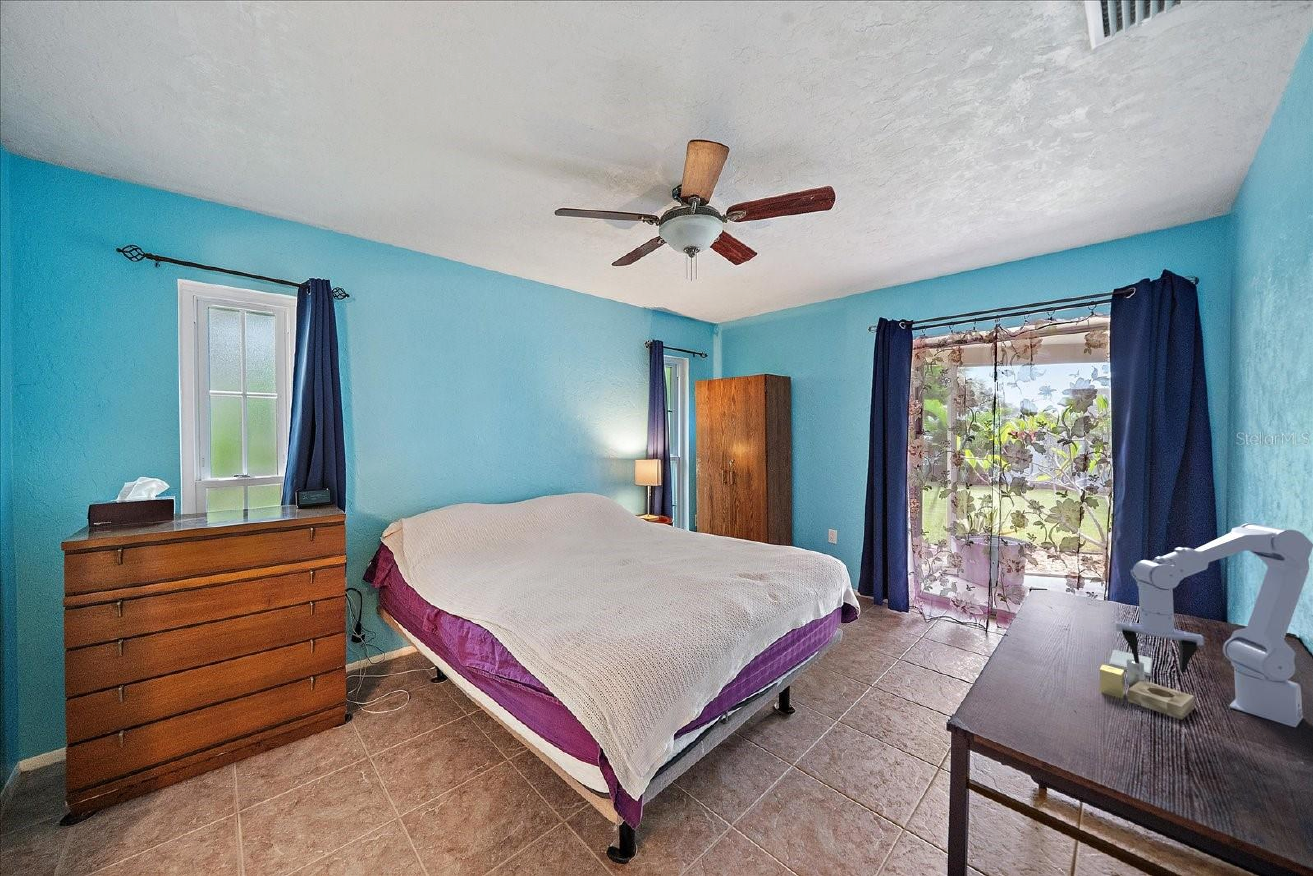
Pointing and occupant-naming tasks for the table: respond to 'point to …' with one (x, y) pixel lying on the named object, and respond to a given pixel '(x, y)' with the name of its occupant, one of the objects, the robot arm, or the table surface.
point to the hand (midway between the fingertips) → (1159, 666)
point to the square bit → (1112, 681)
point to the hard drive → (1121, 659)
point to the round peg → (1134, 672)
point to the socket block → (1161, 699)
